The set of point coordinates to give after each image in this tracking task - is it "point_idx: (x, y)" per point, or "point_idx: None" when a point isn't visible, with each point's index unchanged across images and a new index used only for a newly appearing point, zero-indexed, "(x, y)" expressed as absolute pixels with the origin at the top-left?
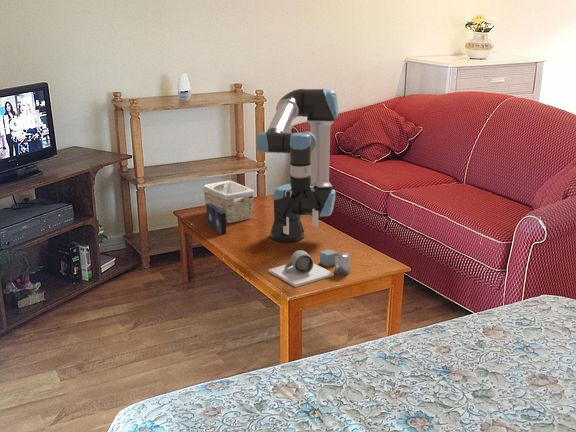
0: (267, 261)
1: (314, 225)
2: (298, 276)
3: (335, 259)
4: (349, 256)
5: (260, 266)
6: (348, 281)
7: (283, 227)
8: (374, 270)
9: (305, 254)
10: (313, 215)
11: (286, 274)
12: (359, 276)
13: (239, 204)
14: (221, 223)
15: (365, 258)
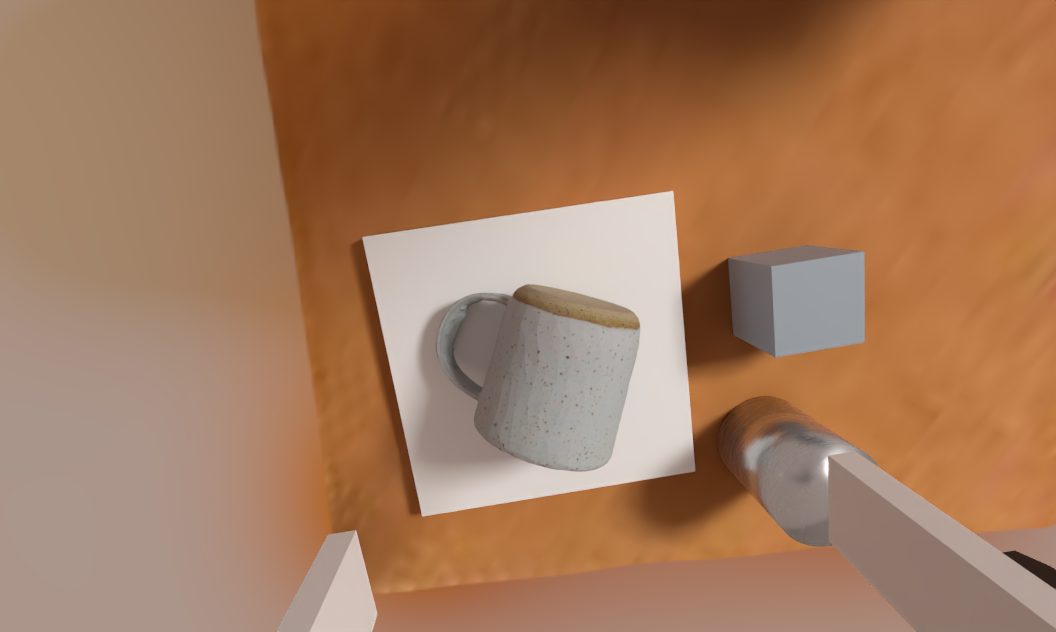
0: (431, 51)
1: (836, 504)
2: None
3: (762, 477)
4: None
5: (349, 118)
6: (711, 555)
7: (295, 608)
8: (915, 492)
9: (568, 461)
10: (972, 593)
11: (436, 367)
12: None
13: None
14: None
15: (1000, 321)
